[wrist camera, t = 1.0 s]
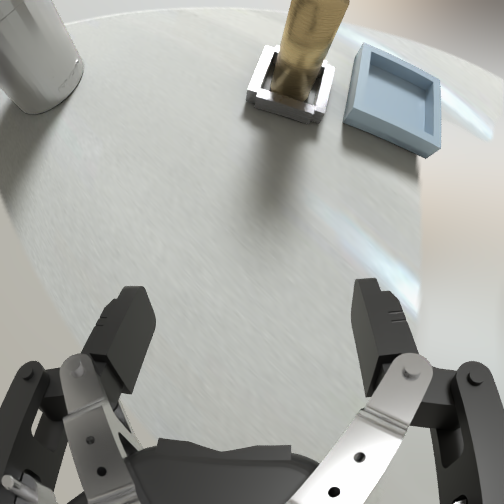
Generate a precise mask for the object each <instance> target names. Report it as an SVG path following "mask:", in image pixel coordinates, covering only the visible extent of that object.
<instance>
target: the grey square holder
mask: <svg viewBox="0 0 504 504" xmlns="http://www.w3.org/2000/svg"><path fill="white" fill-rule="evenodd" d="M279 48H280V46H278V45H276V48H273V47H269V46H265V49H264V51H263V53H262V56H261V58H260V60H259V63H258V65H257V67H256V70H255V72H254V75H253V77H252V80H251V82H250V84H249V87H248V89H247V97H246V101H248V102H252V103H255V107H254V108H258V109H261V110H264V111H268V112H271V113H274V114H278V115H281V116H284V117H287V118H290V119H293V120H296V121H300V122H303V123H305V124H309V122H310V121H312V122H315V123H318V124H319V123H320V121H321V119H322V118H323V116H324V114H325V110H326V106H327V102H328V98H329V93H330V89H331V85H332V80H333V76H334V71H335V67H332V66H330V65H327V64H326V63H327V61H325V60H324V62H323V64H322V66H321V68H320V71H319V73H318V75H317V77H318V78H320V82H319V85H318V89H317V93H316V97H315V101H314V104H313V105H311V104H308V103H305V102H302V101H299V100H296V99H293V98H290V97H287V96H284V95H280V94H277V93H274V92H270V91H267V90H263V89H262V86H263V83H264V81H265V78H266V76H267V73H268V70H269V68H270V65H271V63H274V64H276V61H277V57H278V52H279Z"/></svg>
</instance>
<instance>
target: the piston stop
mask: <svg viewBox="0 0 504 504" xmlns="http://www.w3.org/2000/svg"><path fill="white" fill-rule="evenodd" d="M348 5H349V0H292V1H291V5H290V8H289V12H288V16H287V20H286V24H285V28H284V32H283V36H282V40H281V44H280V48H279V52H278V57H277V61H276V65H275V69H274V73H273V77H272V81H271V91H272V92H274V93H277V94H280V95H284V96H287V97H290V98H293V99H296V100H299V101H302V102H303V101H305V100H306V99H307V98H308V96H309V93H310V91H311V89H312V87H313V84H314V82H315V80H316V78H317V75H318V73H319V71H320V68H321V66H322V64H323V62H324V59H325V57H326V55H327V53H328V50H329V48H330V46H331V44H332V41H333V39H334V37H335V35H336V32H337V30H338V28H339V26H340V23H341V21H342V19H343V17H344V14H345V12H346V10H347V8H348Z"/></svg>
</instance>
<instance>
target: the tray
mask: <svg viewBox="0 0 504 504" xmlns="http://www.w3.org/2000/svg"><path fill="white" fill-rule="evenodd" d="M343 123H346V124H348V125H351V126H353V127H356V128H358V129H361V130H363V131H366V132H368V133H370V134H373V135H375V136H377V137H380V138H382V139H384V140H387V141H389V142H391V143H393V144H396V145H398V146H400V147H402V148H404V149H406V150H408V151H411V152H413V153H415V154H417V155H419V156H421V157H423V158H425V159H426V158H428V157H429V156H430V155H432V154H433V153H435V152H436V151H438V150H439V149H441V90H440V80H439V79H437V78H436V77H434V76H432V75H430V74H428V73H427V72H425V71H423V70H421V69H419V68H417V67H415V66H413V65H411V64H409V63H407V62H405V61H403V60H401V59H399V58H397V57H395V56H393V55H391V54H389V53H387V52H384V51H382V50H380V49H378V48H375V47H373V46H371V45H368V44H366V43H363V44H362V46H361V48H360V50H359V51H358V53H357V55H356V57H355V60H354V66H353V71H352V77H351V82H350V88H349V93H348V99H347V104H346V109H345V114H344V119H343Z"/></svg>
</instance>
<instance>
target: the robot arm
mask: <svg viewBox="0 0 504 504" xmlns="http://www.w3.org/2000/svg"><path fill="white" fill-rule="evenodd" d="M82 73H83V61H82V58H81V56H80V55H79V53H78V51H77V49H76V47H75V45H74V43H73V41H72V39H71V37H70V35H69V33H68V31H67V29H66V27H65V25H64V23H63V21H62V20H61V18H60V16H59V14H58V12H57V10H56V8H55V6H54V3H53V2H52V0H0V88H1V89H2V90H3V91H4V92H5V93H6V94H7V95H8V97H9V98H10V99H11V100H12V101H13V102H14V103H15V104H16V105H17V106H18V107H19V108H20V109H21V110H22V111H23V112H25V113H28V114H39V113H42V112H45V111H48V110H50V109H52V108H53V107H55V106H56V105H58V104H59V103H61V102H62V101H63V100H64V99H65V98H67V97H68V95H69V94H70V93H71V92H72V91H73V90H74V88H75V87H76V86H77V84H78V82H79V80H80V78H81V76H82ZM351 323H352V329H353V334H354V338H355V343H356V348H357V353H358V358H359V363H360V369H361V374H362V379H363V385H364V391H365V396H366V397H371V398H370V400H369V401H368V403H367V404H366V406H365V407H364V408H363V409H361V410H360V411H359V412H358V413H357V415H356V416H355V417H354V419H353V420H352V422H351V423H350V425H349V426H348V427H347V429H346V430H345V432H344V433H343V434H342V436H341V437H340V438H339V440H338V441H337V442H336V444H335V445H334V446H333V448H332V449H331V450H330V452H329V453H328V454H327V456H326V457H325V458H324V459H323V461H322V462H321V463H320V464H319V463H318V462H316V461H314V460H312V459H310V458H308V457H305V456H302V455H299V454H294V453H291V445H277V446H258V445H257V446H252V447H247V448H242V449H236V450H231V451H225V452H220V451H216V450H213V449H210V448H206V447H203V446H200V445H197V444H194V443H192V442H188V441H179V440H170V439H163V438H159V440H158V444H157V446H153V447H149V448H145V449H143V447H142V446H141V444H140V443H139V441H138V439H137V437H136V436H135V433H134V431H133V429H132V427H131V425H130V422H129V420H128V418H127V415H126V413H125V411H124V408H123V406H122V403H121V401H120V400H119V397H120V395H121V393H125V394H132V392H133V389H134V386H135V383H136V380H137V378H138V375H139V372H140V369H141V366H142V363H143V361H144V358H145V355H146V352H147V349H148V347H149V344H150V341H151V339H152V336H153V333H154V331H155V327H156V318H155V314H154V311H153V308H152V306H151V303H150V301H149V298H148V295H147V292H146V290H145V288H144V287H143V286H125V287H124V288H123V289H122V291H121V293H120V295H119V296H118V298H117V299H113V300H112V301H111V302H110V303H109V304H108V305H107V306H106V307H105V308H104V310H103V312H102V314H101V316H100V319H98V321H97V323H96V326H95V327H94V329H93V330H92V332H91V334H90V336H89V338H88V340H87V342H86V344H85V346H84V348H83V350H82V352H81V354H75V355H72V356H70V357H69V358H67V359H66V360H65V361H64V362H63V364H62V366H61V368H55V369H48V370H45V369H44V368H43V366H42V365H41V364H40V363H39V362H37V361H30V362H28V363H26V364H24V365H23V366H22V367H21V368H20V369H19V370H18V372H17V374H16V376H15V378H14V380H13V382H12V384H11V386H10V388H9V390H8V392H7V394H6V397H5V399H4V401H3V403H2V405H1V408H0V504H58V503H57V502H56V498H55V495H54V493H53V492H54V488H55V484H56V481H57V477H58V473H59V469H60V466H61V463H62V459H63V456H64V452H65V449H66V446H67V442H69V446H70V449H71V453H72V456H73V459H74V462H75V465H76V469H77V472H78V475H79V478H80V481H81V484H82V487H83V489H84V491H83V492H82V493H81V494H79V495H78V496H77V497H75V498H74V499H73V500H71V501H70V502H68V503H67V504H362V503H363V501H364V500H365V499H366V497H367V496H368V494H369V493H370V491H371V490H372V488H373V487H374V486H375V484H376V483H377V481H378V479H379V478H380V476H381V475H382V473H383V472H384V470H385V469H386V467H387V465H388V464H389V462H390V460H391V459H392V457H393V455H394V454H395V452H396V450H397V449H398V447H399V445H400V443H401V441H402V440H403V438H404V436H405V434H406V432H407V428H408V427H409V425H410V426H418V427H425V428H430V432H431V438H432V444H433V450H434V457H435V464H436V472H437V480H438V488H439V499H440V504H504V409H503V405H502V402H501V399H500V396H499V393H498V390H497V387H496V385H495V382H494V379H493V376H492V374H491V372H490V370H489V369H488V368H487V367H486V366H484V365H483V364H482V363H479V362H475V361H469V362H466V363H464V364H462V365H461V366H460V367H459V369H458V370H457V371H454V370H446V369H439V368H435V367H433V366H431V364H430V362H429V361H428V360H427V359H426V358H424V357H423V356H421V355H419V353H418V350H417V347H416V345H415V342H414V339H413V336H412V333H411V331H410V328H409V325H408V323H407V321H406V317H405V315H404V312H403V310H402V307H401V305H400V302H399V300H398V299H397V298H396V297H395V296H394V295H393V294H392V293H391V292H390V291H381V290H380V287H379V284H378V282H377V279H376V278H366V279H356V280H355V284H354V292H353V300H352V308H351ZM38 409H40V410H41V411H42V412H43V414H42V416H41V419H40V421H39V424H38V427H37V429H36V432H35V435H34V437H33V435H32V432H31V427H32V424H33V421H34V419H35V416H36V414H37V411H38Z"/></svg>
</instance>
